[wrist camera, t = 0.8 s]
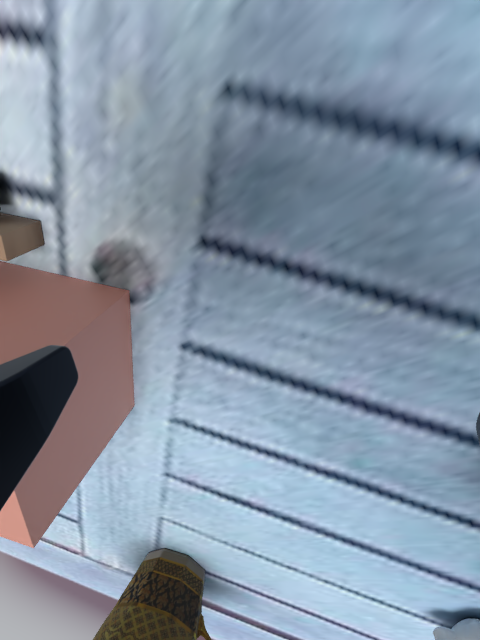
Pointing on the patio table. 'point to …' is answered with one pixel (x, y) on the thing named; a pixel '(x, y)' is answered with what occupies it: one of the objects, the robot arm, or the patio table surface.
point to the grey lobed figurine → (460, 631)
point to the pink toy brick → (87, 397)
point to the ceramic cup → (160, 601)
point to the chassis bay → (18, 236)
